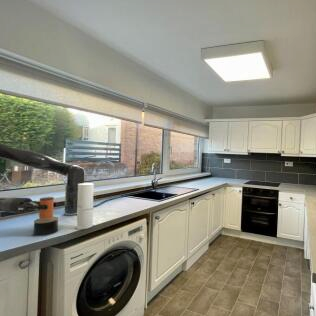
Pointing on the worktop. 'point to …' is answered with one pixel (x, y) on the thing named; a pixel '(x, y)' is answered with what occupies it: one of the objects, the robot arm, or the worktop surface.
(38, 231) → the black canister
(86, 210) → the cylindrical container
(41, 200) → the orange tin
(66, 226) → the worktop surface
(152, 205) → the worktop surface
